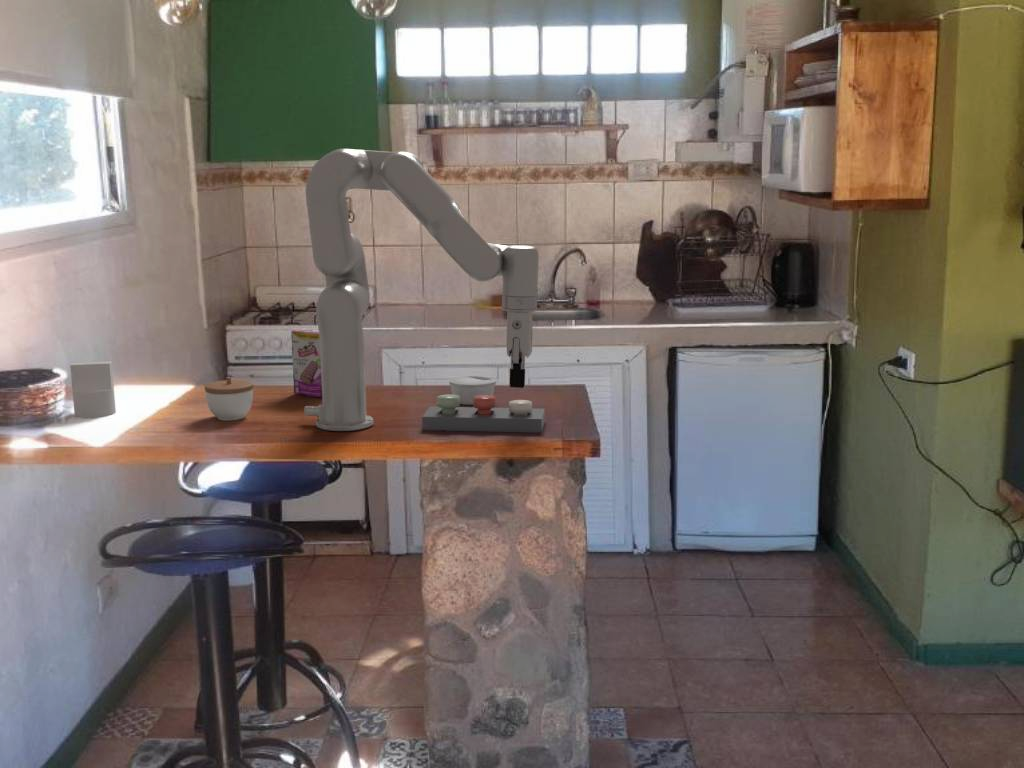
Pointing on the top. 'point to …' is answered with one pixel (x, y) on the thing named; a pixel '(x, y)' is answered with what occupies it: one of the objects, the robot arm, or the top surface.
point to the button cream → (520, 407)
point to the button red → (484, 404)
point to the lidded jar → (229, 398)
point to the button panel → (483, 420)
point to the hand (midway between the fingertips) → (517, 386)
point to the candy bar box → (306, 362)
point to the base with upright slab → (93, 389)
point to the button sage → (448, 403)
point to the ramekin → (471, 387)
